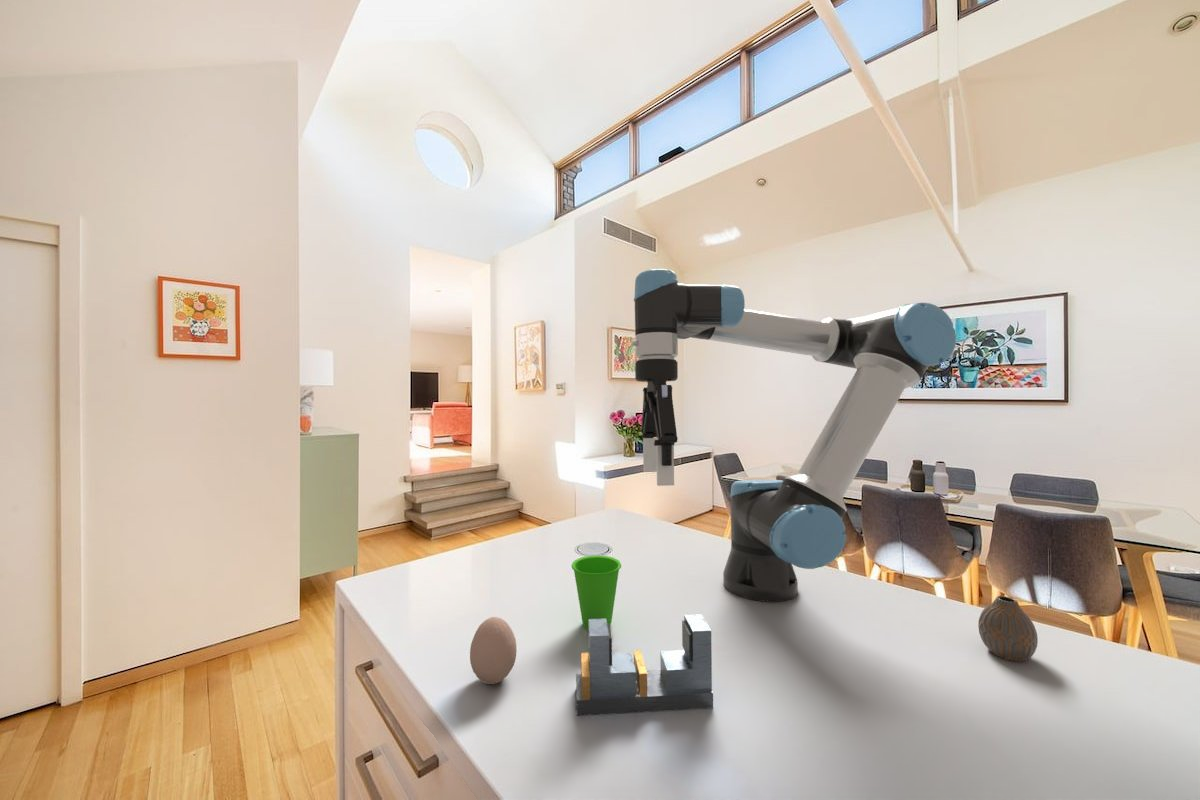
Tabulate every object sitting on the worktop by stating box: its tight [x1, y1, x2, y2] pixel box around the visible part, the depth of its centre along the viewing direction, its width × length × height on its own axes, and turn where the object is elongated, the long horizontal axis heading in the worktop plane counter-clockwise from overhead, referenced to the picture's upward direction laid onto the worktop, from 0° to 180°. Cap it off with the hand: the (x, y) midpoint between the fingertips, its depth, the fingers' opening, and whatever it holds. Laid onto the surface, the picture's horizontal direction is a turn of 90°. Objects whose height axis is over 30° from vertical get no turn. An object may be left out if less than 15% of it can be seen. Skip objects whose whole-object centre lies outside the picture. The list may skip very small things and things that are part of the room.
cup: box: [571, 554, 622, 631], centre depth 81 cm, size 9×9×11 cm
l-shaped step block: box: [588, 619, 636, 697], centre depth 61 cm, size 6×4×8 cm
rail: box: [575, 613, 714, 717], centre depth 61 cm, size 18×6×10 cm, turn 94°
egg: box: [469, 616, 517, 685], centre depth 65 cm, size 7×7×9 cm
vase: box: [977, 595, 1039, 662], centre depth 71 cm, size 7×7×9 cm
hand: (657, 478), depth 80 cm, fingers open, 13 cm apart
